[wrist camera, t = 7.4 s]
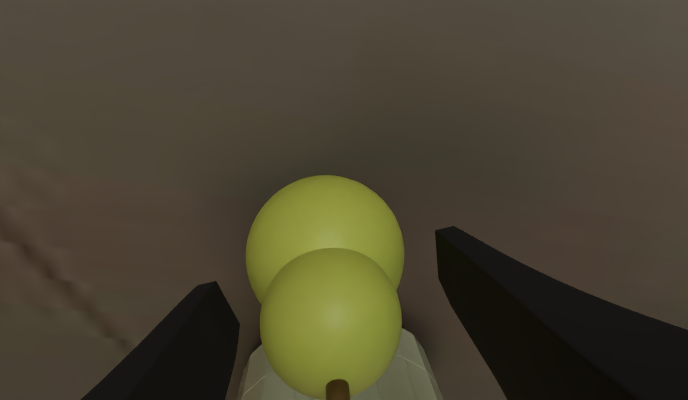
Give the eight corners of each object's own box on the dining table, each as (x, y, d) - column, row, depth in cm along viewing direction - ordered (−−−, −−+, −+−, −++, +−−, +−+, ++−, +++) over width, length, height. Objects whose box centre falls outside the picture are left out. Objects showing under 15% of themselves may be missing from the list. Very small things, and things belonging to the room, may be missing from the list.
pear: (390, 246, 14) (491, 488, 6) (282, 271, 14) (245, 545, 6) (373, 140, 12) (507, 316, 4) (242, 170, 12) (91, 412, 4)
